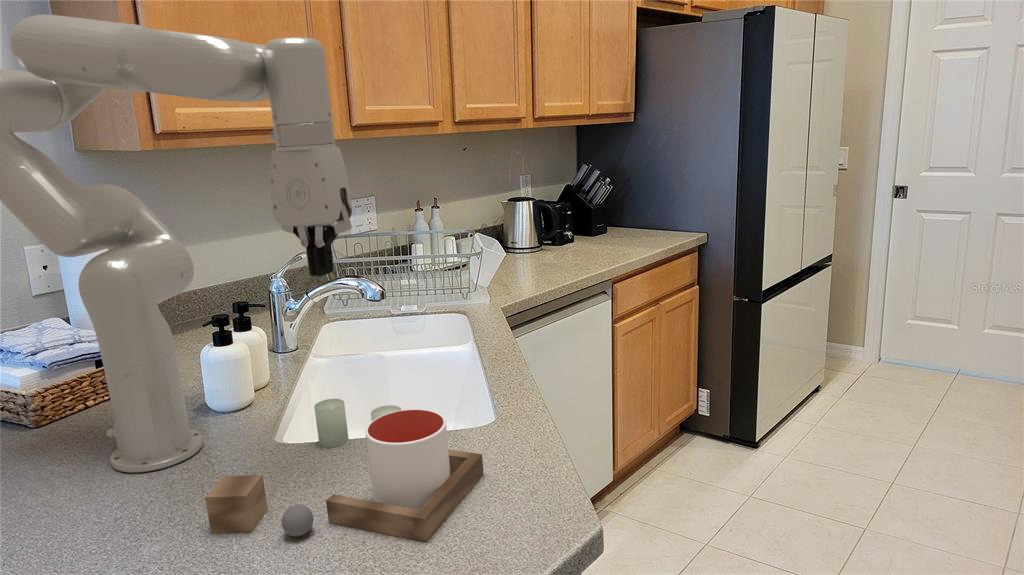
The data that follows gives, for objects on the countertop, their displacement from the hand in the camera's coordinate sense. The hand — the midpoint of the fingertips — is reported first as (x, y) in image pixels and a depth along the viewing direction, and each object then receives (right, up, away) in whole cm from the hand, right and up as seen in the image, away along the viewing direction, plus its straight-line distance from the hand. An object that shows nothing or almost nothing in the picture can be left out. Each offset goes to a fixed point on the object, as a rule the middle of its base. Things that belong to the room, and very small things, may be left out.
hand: (321, 273), depth 95 cm
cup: (+13, -29, -6) cm, 33 cm away
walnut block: (-7, -31, -10) cm, 33 cm away
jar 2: (+8, -26, +7) cm, 28 cm away
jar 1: (-1, -25, +11) cm, 28 cm away
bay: (+12, -29, -6) cm, 32 cm away
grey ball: (+1, -31, -13) cm, 34 cm away
